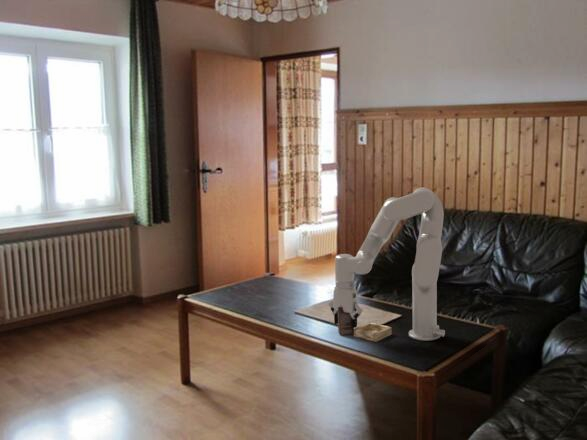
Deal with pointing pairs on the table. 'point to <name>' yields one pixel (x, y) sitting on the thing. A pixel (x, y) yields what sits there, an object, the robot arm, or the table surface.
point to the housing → (372, 331)
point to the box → (344, 322)
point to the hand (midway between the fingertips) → (345, 325)
